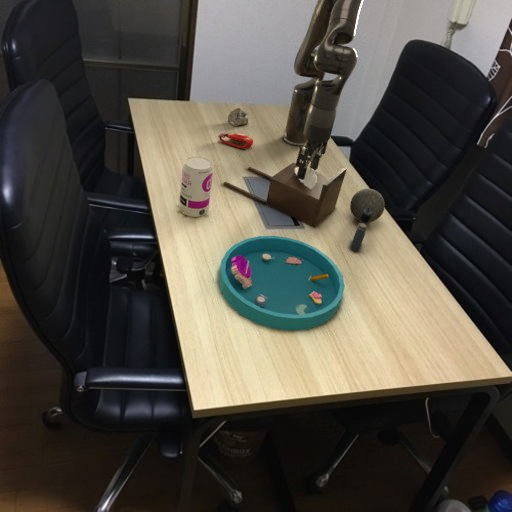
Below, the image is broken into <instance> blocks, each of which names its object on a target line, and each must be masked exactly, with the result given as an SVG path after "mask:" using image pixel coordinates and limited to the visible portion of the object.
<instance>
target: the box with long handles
mask: <svg viewBox="0 0 512 512" xmlns="http://www.w3.org/2000/svg"><path fill="white" fill-rule="evenodd" d="M297 167H298V166H296V162H292V163H290V164H288V165H287V166H286V167H284V168H283V169H281V170H280V171H278V172H277V173H275V174H274V175H272V176H271V175H269V174H268V173H265V172H263V171H261V170H258V169H256V168H253V167H252V166H248V167H247V171H248V172H250V173H253V174H255V175H257V176H260V177H262V178H264V179H266V180H268V181H269V187H268V192H267V196H266V200H265V199H264V198H262V197H259V196H258V195H255V194H253V193H252V192H249V191H247V190H244V189H243V188H240V187H238V186H236V185H234V184H232V183H230V182H227V181H224V182H223V186H224V187H226V188H228V189H230V190H232V191H234V192H236V193H239V194H241V195H243V196H245V197H248V198H250V199H251V200H253V201H256V202H258V203H259V204H262V205H267V206H268V207H271V208H272V209H275V210H277V211H279V212H281V213H282V214H286V215H287V216H289V217H292V218H293V219H296V220H298V221H300V222H302V223H304V224H307V225H309V226H311V227H313V228H317V226H318V225H319V224H320V223H321V222H322V221H323V220H325V219H326V218H327V217H328V216H329V215H330V214H331V213H332V212H333V211H334V210H335V209H336V206H337V202H338V199H339V197H340V193H341V190H342V186H343V183H344V179H345V176H346V173H347V167H342V168H341V169H340V170H339V171H338V172H336V173H334V175H333V176H331V177H329V176H326V175H324V174H321V173H319V172H317V171H314V172H315V174H316V176H317V183H316V185H315V186H314V187H313V188H312V189H309V188H308V187H307V186H306V185H304V183H302V182H301V181H300V180H299V178H297V175H296V173H295V170H294V169H295V168H297Z"/></svg>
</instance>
